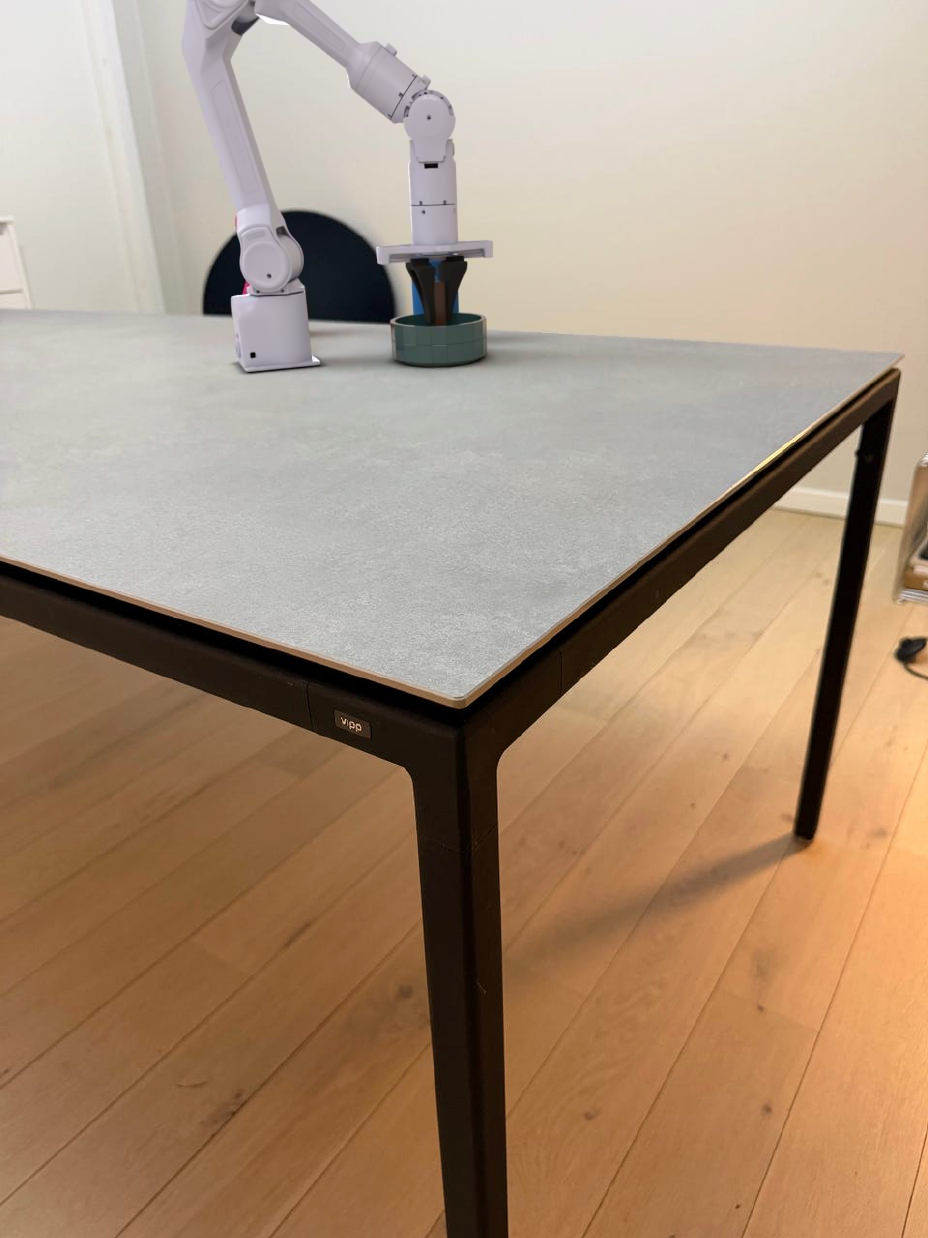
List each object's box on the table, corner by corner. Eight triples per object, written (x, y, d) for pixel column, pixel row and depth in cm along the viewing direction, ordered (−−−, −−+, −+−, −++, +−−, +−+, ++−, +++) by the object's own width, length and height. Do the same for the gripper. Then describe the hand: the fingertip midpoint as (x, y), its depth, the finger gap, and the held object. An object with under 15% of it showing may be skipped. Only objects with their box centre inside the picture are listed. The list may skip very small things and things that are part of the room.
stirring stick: (435, 348, 118) (433, 282, 114) (431, 346, 119) (429, 281, 115) (447, 347, 118) (445, 281, 115) (443, 345, 119) (441, 280, 116)
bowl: (408, 371, 112) (406, 329, 110) (382, 355, 123) (379, 316, 120) (501, 362, 116) (500, 321, 114) (467, 347, 126) (466, 309, 124)
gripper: (384, 208, 106) (392, 330, 112) (501, 202, 110) (502, 320, 116) (369, 206, 112) (377, 322, 118) (480, 201, 116) (482, 313, 122)
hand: (438, 321), depth 117 cm, fingers closed on stirring stick, 1 cm apart
